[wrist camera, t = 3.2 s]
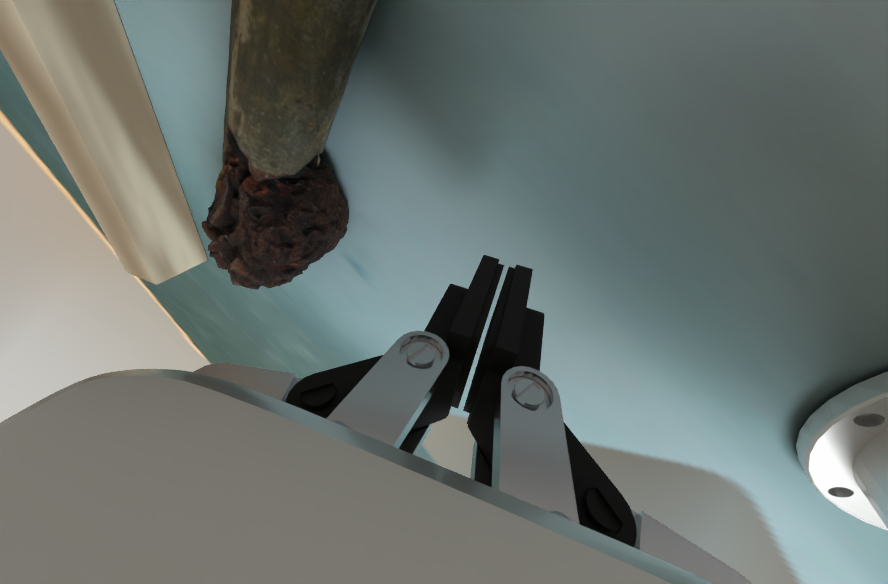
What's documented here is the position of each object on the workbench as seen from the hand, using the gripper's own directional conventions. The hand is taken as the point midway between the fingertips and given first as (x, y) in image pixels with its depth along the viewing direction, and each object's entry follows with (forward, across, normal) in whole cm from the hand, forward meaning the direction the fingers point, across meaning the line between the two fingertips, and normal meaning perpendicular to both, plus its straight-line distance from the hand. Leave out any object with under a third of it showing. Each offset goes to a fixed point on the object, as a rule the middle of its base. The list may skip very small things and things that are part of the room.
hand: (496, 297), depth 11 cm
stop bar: (+7, +25, 0) cm, 26 cm away
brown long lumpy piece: (+7, +12, -1) cm, 13 cm away
